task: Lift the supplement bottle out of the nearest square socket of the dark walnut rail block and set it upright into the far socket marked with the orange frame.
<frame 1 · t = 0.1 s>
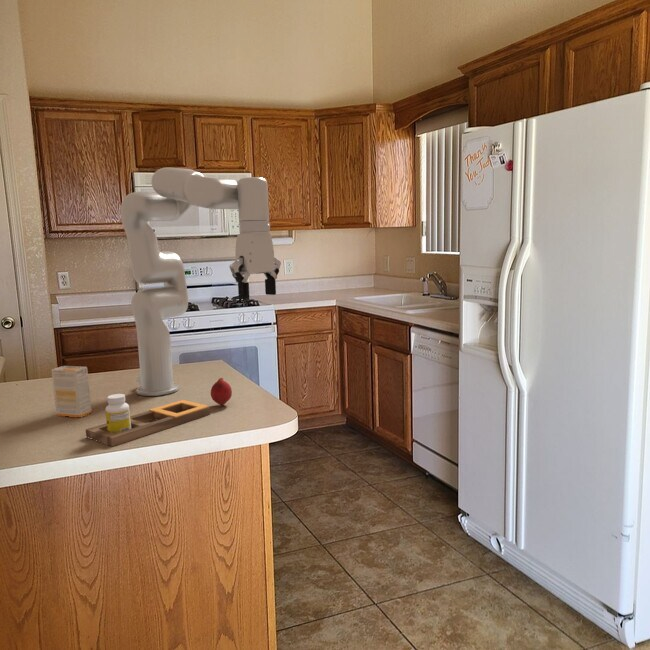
hand: (257, 296, 153), 31 cm above the countertop, tool pointing down, fingers open, 9 cm apart
socket rail: (151, 425, 151), on the countertop
supplement bottle: (119, 436, 144), resting in socket rail
supplement box: (74, 415, 163), on the countertop
onion: (222, 406, 167), on the countertop
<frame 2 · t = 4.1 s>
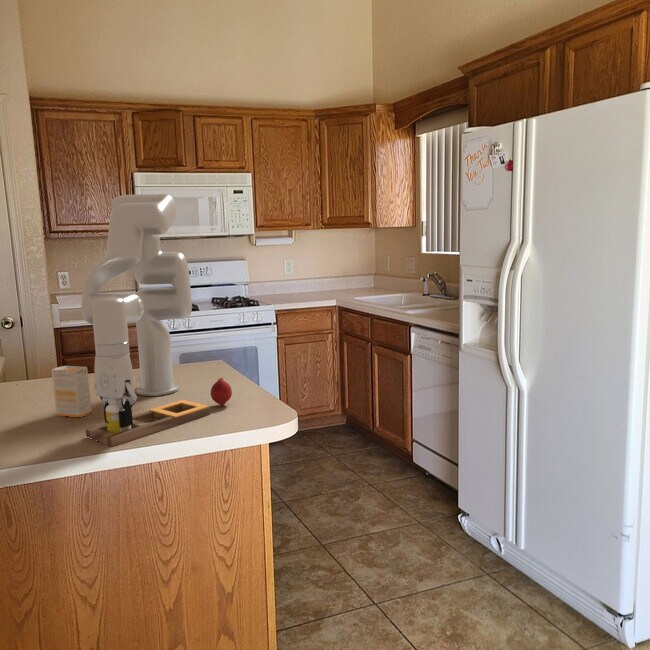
hand: (118, 423, 144), 3 cm above the countertop, tool pointing down, fingers closed on supplement bottle, 5 cm apart
supplement bottle: (119, 436, 144), resting in socket rail, touching gripper
everything else where it was.
when the fingers open (4 cm above the countertop, at t = 10.2 s): supplement bottle stays where it is, resting in socket rail.
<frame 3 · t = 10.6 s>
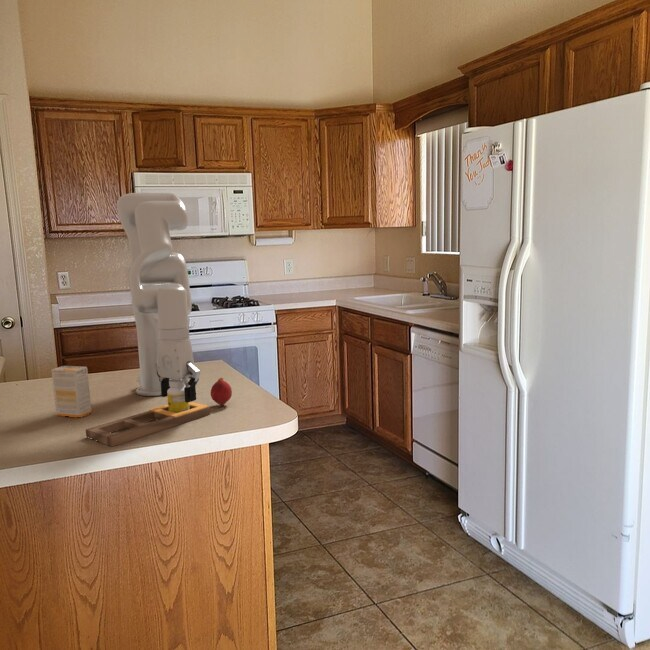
hand: (178, 398, 157), 5 cm above the countertop, tool pointing down, fingers open, 9 cm apart
supplement bottle: (179, 416, 158), resting in socket rail
everything else where it was.
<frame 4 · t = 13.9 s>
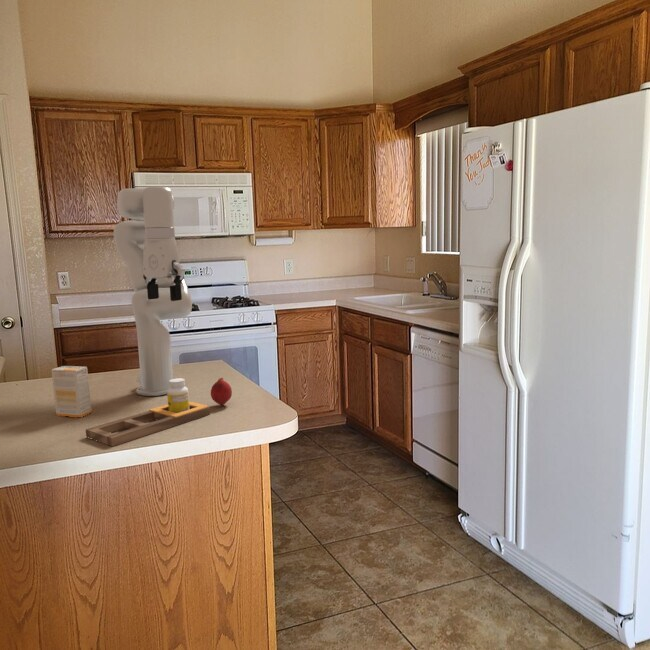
hand: (164, 299, 160), 30 cm above the countertop, tool pointing down, fingers open, 9 cm apart
nothing on the countertop moved.
at the end: supplement bottle 0.2 cm from the target spot on the socket rail, point 0.0 cm above the socket rail's base; supplement bottle tilted 0°; the gripper is holding nothing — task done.
